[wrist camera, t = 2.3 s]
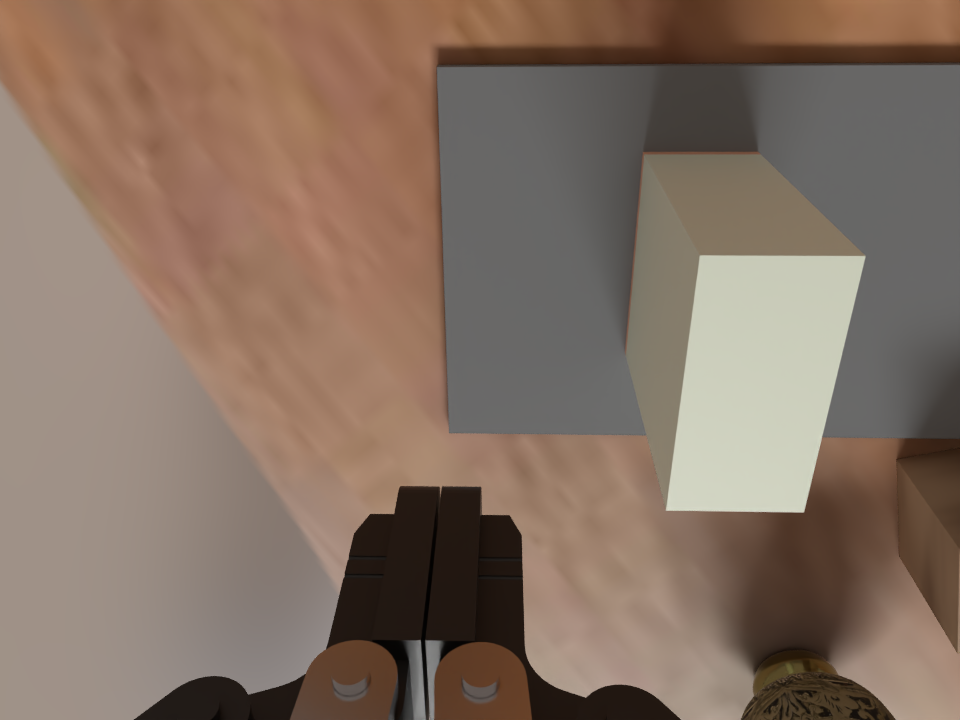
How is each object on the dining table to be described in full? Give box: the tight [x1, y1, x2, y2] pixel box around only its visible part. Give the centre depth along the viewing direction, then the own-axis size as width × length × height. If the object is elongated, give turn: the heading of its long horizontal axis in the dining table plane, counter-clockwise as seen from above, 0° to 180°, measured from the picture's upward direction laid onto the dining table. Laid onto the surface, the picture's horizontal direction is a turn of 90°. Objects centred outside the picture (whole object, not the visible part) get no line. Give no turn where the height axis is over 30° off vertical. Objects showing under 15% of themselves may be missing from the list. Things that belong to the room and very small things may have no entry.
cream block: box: [625, 152, 866, 513], centre depth 23 cm, size 4×7×8 cm, turn 1°
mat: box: [437, 63, 960, 439], centre depth 27 cm, size 22×13×1 cm, turn 91°
